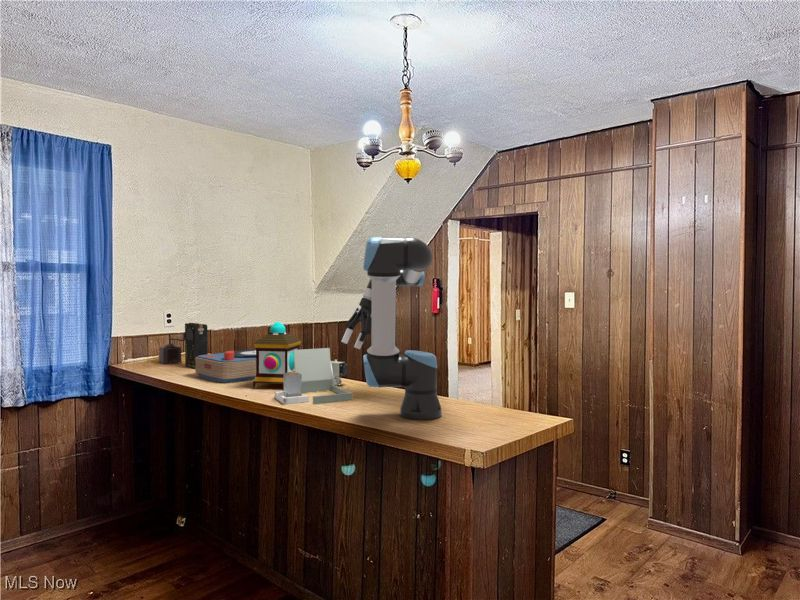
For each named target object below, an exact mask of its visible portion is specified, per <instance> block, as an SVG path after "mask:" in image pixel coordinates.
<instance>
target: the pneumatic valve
mask: <svg viewBox="0 0 800 600" xmlns="http://www.w3.org/2000/svg"><path fill="white" fill-rule="evenodd" d="M330 361H331V364H332V370H333V377H334V383H335V384H333V382H332V385H337V386H340V385H339V384H341V385H342V382H343V381H342V378H341V377H346V376H347V374H348V373H349V366H348V365H347V362H346V361H338V359H334V360H330Z"/></svg>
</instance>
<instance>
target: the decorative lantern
mask: <svg viewBox="0 0 800 600" xmlns="http://www.w3.org/2000/svg"><path fill="white" fill-rule="evenodd" d="M301 343H302V340H301V339H300V338H298V337H297V336H293V335H292V334H290V333H289V332H288V331H286V326H285V325H284V324H283V323H282V322H280V321H276V322H274V323H273V324H272V325H271V326H270V330H269V332H267V334H266V335H265V336H263V337H262V338H258V339H257V340H255V342H254V343H253V347H254V348H255V349H256V377H255V379H254V380H252V386H253V388H256V389H257V388H258V384H278V385H284V379H283V373H286V372H295V369H294V354H293V350H300V345H301Z"/></svg>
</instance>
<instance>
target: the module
mask: <svg viewBox="0 0 800 600" xmlns="http://www.w3.org/2000/svg"><path fill="white" fill-rule="evenodd" d="M283 379H284V384H283V391H284V397H286V398H287V397H297V396H303V395H302V394H303V393H302V374H301V373H299V372H286V373H283Z"/></svg>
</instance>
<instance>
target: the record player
mask: <svg viewBox="0 0 800 600" xmlns="http://www.w3.org/2000/svg"><path fill="white" fill-rule="evenodd" d="M195 361H196V369H195V374H197V377H198V378H202V379H204V378H205V379H206V380H208V379H209V380H210V381H212V380H213V381H214V382H216V381H217V383H220V382H221V384H230V383H231V382H232V383H239V381H240V382H246V381H245V380H247V381H253V380H252V379H255V377H256V348H255V349H254V348H252V349H250V348H249V349H241V350H227V351H224V352H219V353H209V354H207V355H200V356H198V357H195ZM205 379H204V380H205ZM209 380H208V381H209Z"/></svg>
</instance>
